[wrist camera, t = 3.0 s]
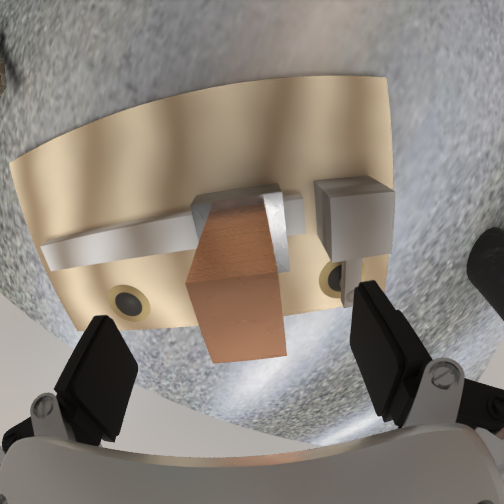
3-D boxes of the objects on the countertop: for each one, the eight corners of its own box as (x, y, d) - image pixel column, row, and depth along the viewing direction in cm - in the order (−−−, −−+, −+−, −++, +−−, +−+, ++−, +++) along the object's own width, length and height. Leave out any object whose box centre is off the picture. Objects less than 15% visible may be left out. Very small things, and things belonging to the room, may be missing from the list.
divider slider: (276, 179, 17) (308, 253, 9) (289, 300, 22) (310, 410, 13) (198, 191, 18) (152, 274, 9) (225, 308, 22) (217, 419, 13)
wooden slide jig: (377, 79, 16) (417, 72, 11) (377, 288, 24) (401, 328, 19) (19, 159, 17) (-22, 176, 12) (83, 321, 25) (62, 357, 21)
